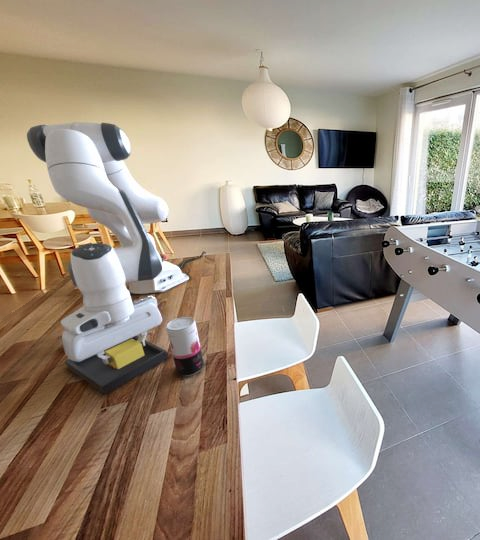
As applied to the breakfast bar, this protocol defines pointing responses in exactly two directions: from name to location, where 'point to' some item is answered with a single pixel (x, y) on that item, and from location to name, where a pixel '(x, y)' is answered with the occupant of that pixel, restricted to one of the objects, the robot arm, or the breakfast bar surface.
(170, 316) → the breakfast bar surface
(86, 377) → the dark grey tray
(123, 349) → the sponge
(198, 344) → the beverage can
